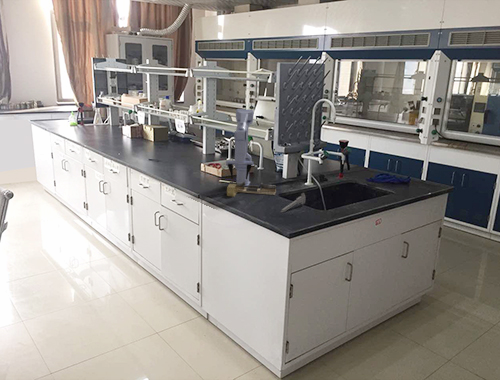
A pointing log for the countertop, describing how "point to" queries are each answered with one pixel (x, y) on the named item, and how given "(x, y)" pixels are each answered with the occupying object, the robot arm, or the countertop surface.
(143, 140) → the countertop surface
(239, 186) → the mechanism
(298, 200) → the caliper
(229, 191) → the coupler
